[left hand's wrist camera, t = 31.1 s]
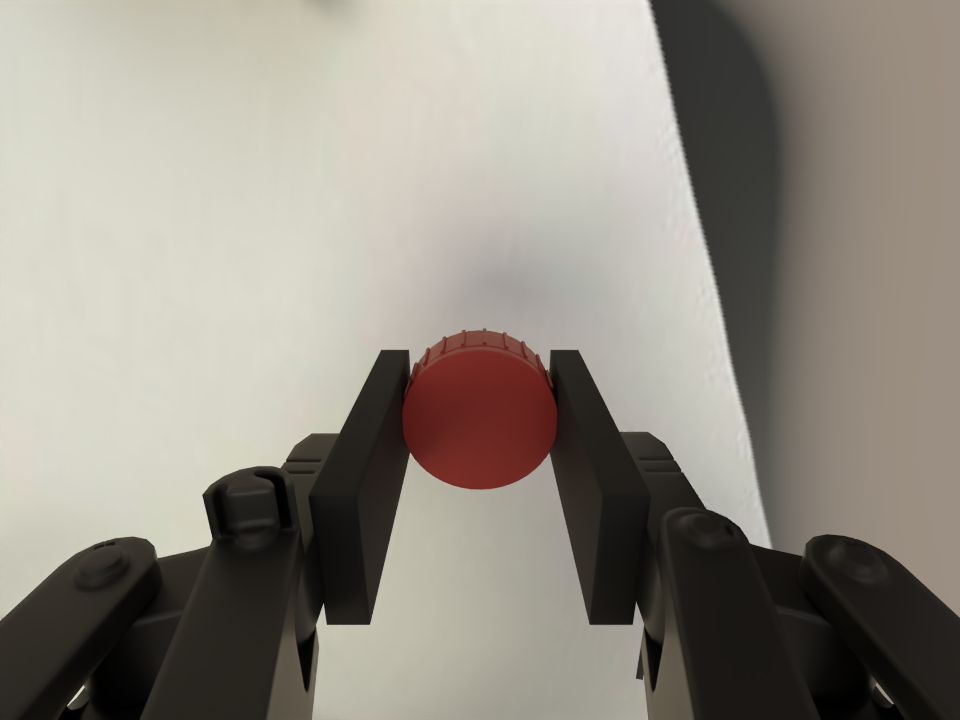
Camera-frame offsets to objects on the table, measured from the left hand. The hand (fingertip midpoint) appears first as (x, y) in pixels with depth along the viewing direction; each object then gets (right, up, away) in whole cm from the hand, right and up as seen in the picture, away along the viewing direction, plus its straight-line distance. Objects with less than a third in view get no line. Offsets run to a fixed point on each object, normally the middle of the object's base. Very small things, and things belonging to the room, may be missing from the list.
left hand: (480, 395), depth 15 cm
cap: (0, 0, -1) cm, 1 cm away
